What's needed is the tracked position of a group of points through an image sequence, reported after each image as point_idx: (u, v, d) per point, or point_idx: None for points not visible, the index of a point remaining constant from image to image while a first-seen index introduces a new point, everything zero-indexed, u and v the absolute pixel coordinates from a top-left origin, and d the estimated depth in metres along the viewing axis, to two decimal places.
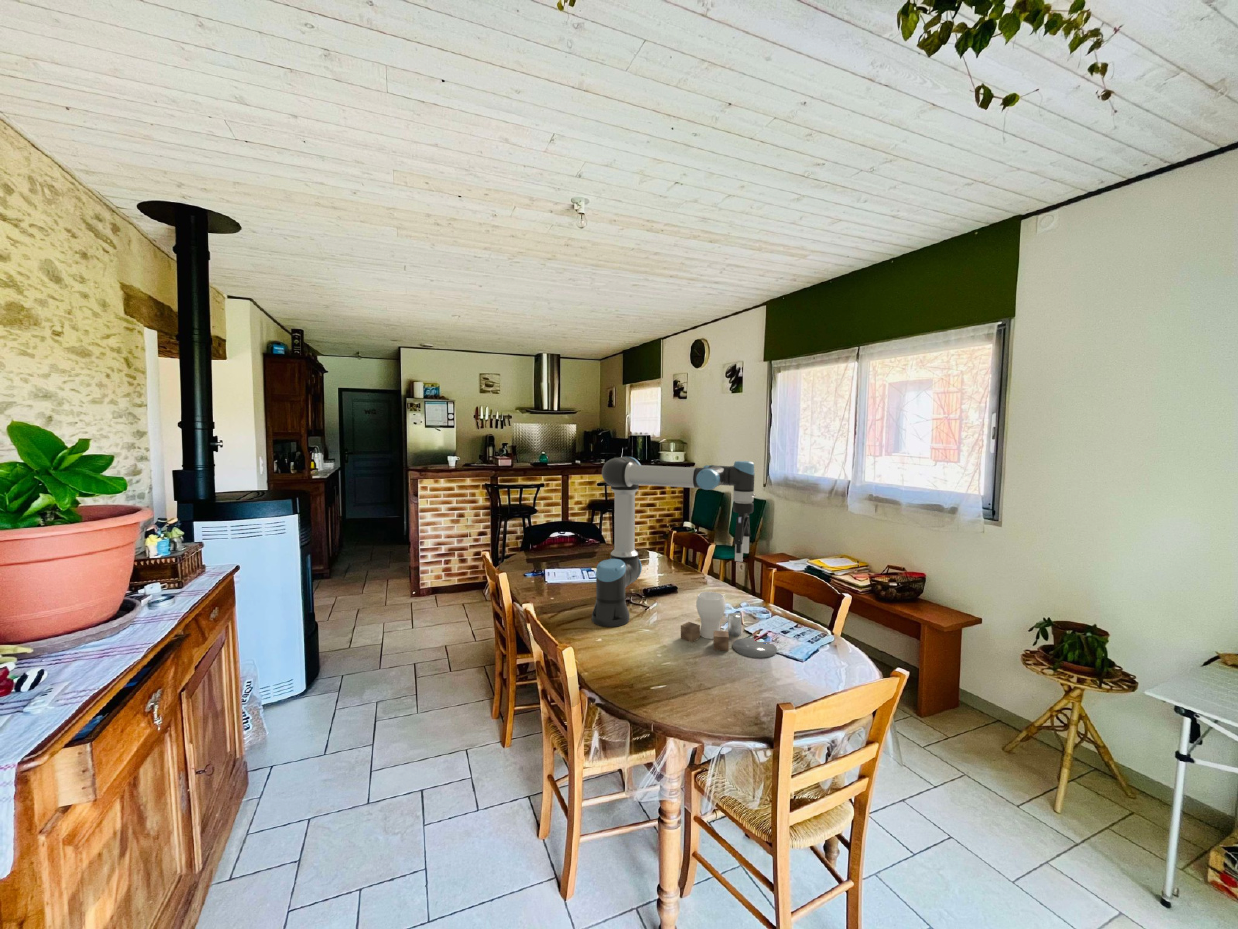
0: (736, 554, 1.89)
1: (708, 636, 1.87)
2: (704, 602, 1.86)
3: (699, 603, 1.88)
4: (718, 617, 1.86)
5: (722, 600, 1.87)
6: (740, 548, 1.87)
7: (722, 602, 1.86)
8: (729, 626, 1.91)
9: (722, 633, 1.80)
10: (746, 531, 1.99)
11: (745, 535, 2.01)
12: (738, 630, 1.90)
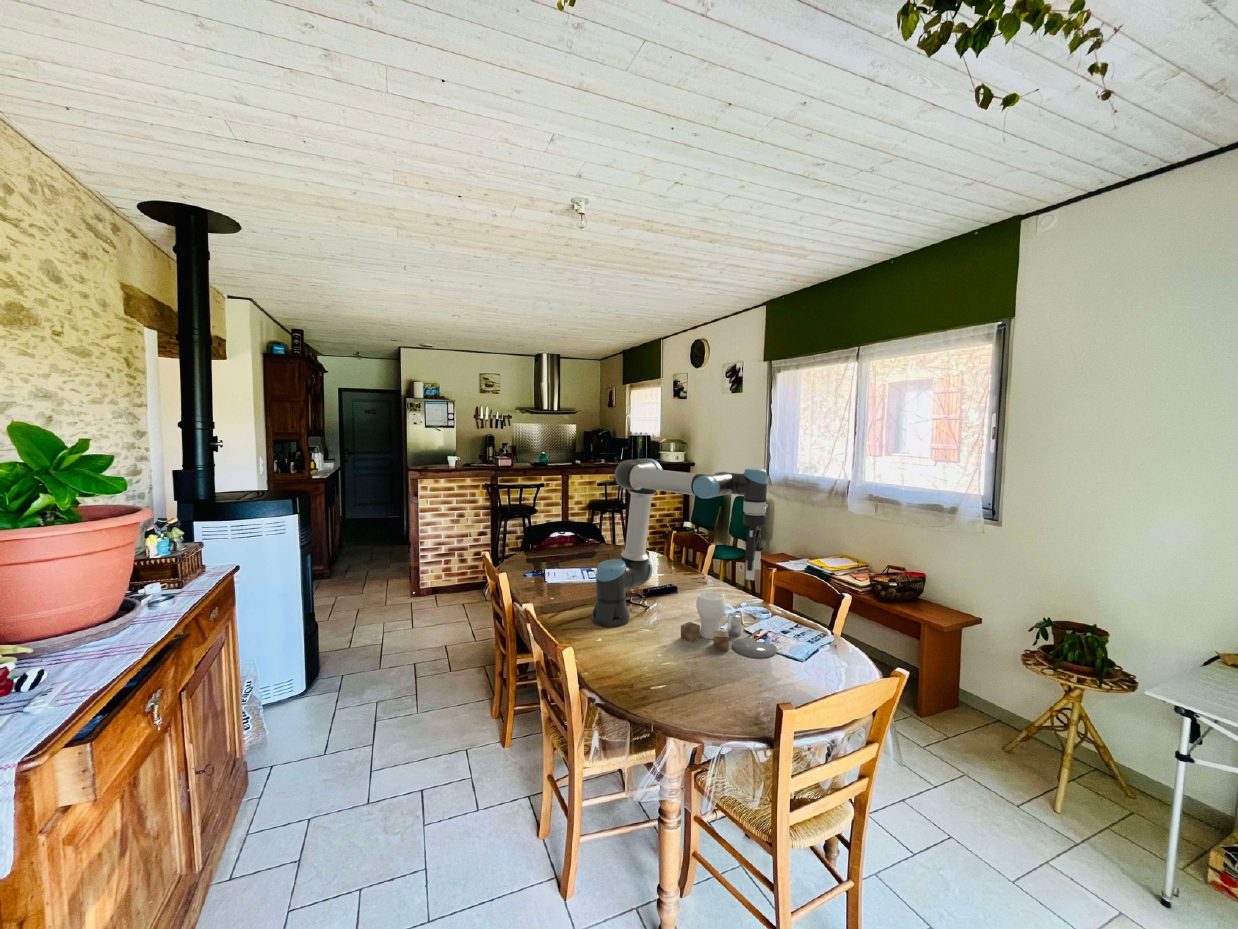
0: (747, 572, 1.71)
1: (708, 636, 1.87)
2: (704, 602, 1.86)
3: (699, 603, 1.88)
4: (718, 617, 1.86)
5: (722, 600, 1.87)
6: (751, 565, 1.69)
7: (722, 602, 1.86)
8: (729, 626, 1.91)
9: (722, 633, 1.80)
10: (757, 545, 1.81)
11: (756, 549, 1.83)
12: (738, 630, 1.90)
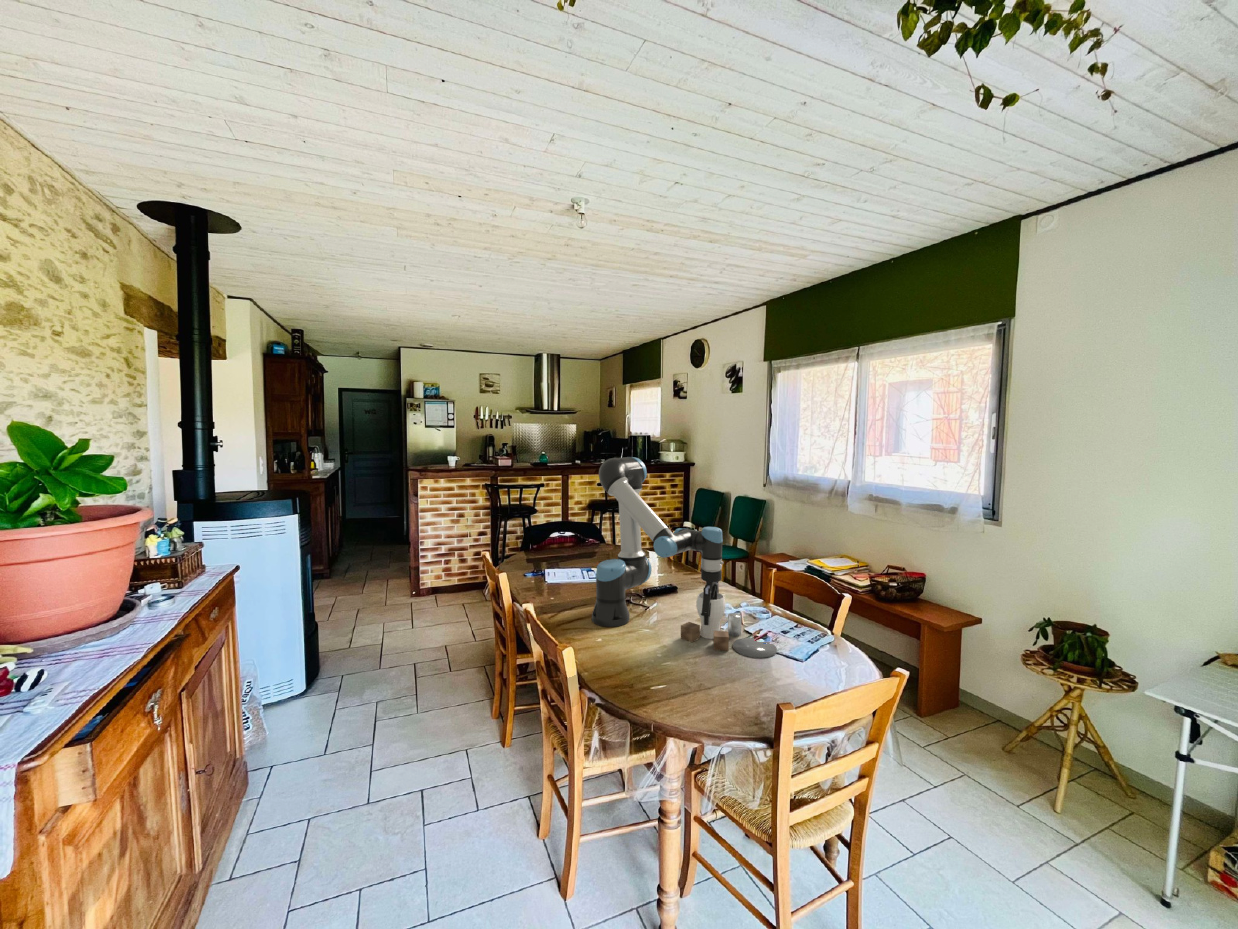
0: (704, 626, 1.85)
1: (708, 636, 1.87)
2: None
3: (699, 603, 1.88)
4: (718, 617, 1.86)
5: (722, 600, 1.87)
6: (708, 620, 1.84)
7: (722, 602, 1.86)
8: (729, 626, 1.91)
9: (722, 633, 1.80)
10: (715, 599, 1.94)
11: None
12: (738, 630, 1.90)
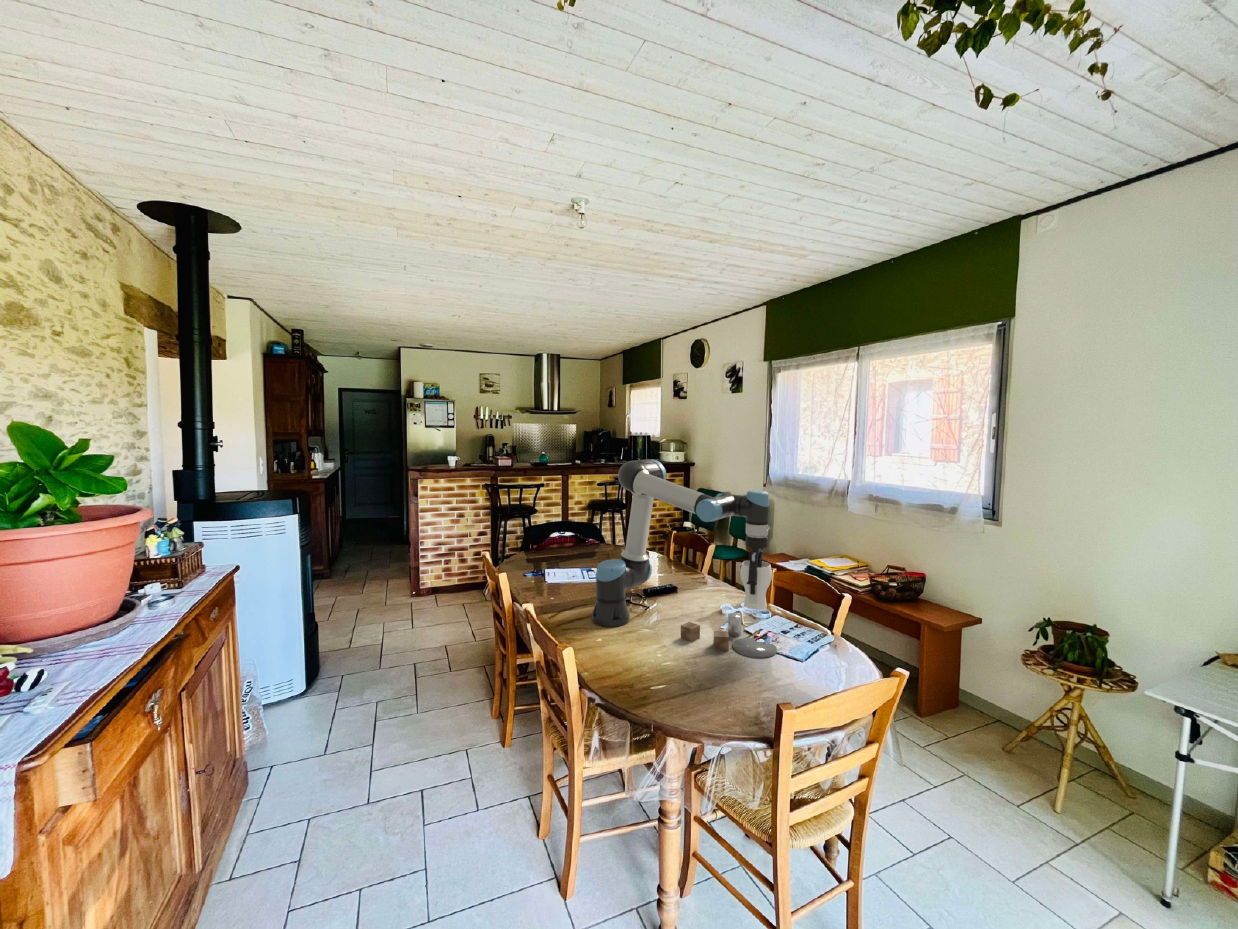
0: (750, 595, 1.73)
1: (754, 607, 1.75)
2: None
3: (744, 571, 1.75)
4: (765, 586, 1.74)
5: (769, 568, 1.74)
6: (754, 589, 1.71)
7: (769, 570, 1.74)
8: (729, 626, 1.91)
9: (722, 633, 1.80)
10: None
11: None
12: (738, 630, 1.90)
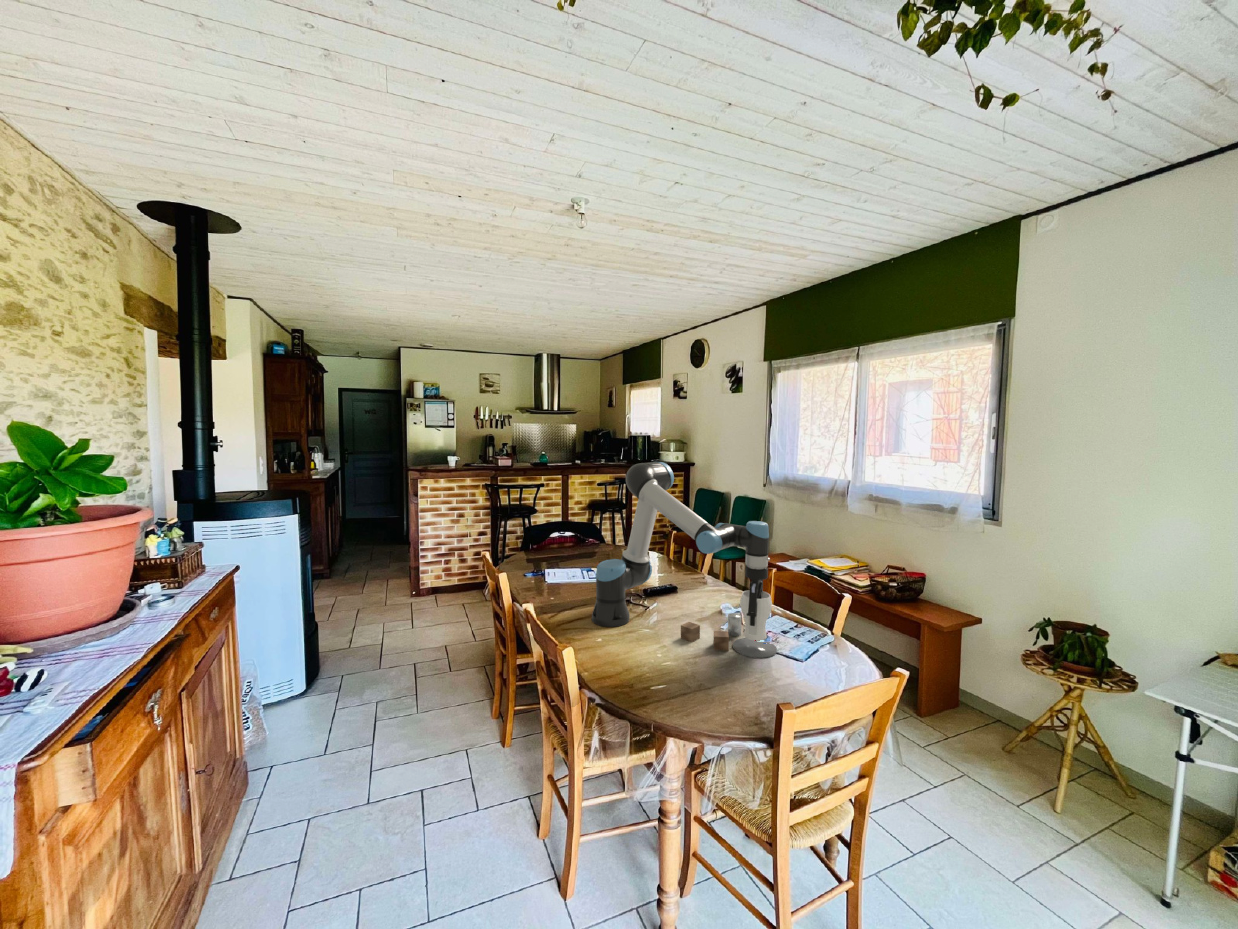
0: (750, 626, 1.74)
1: (754, 637, 1.75)
2: None
3: (744, 602, 1.76)
4: (765, 617, 1.74)
5: (769, 599, 1.75)
6: (754, 620, 1.72)
7: (769, 601, 1.75)
8: (729, 626, 1.91)
9: (722, 633, 1.80)
10: (759, 598, 1.82)
11: None
12: (738, 630, 1.90)
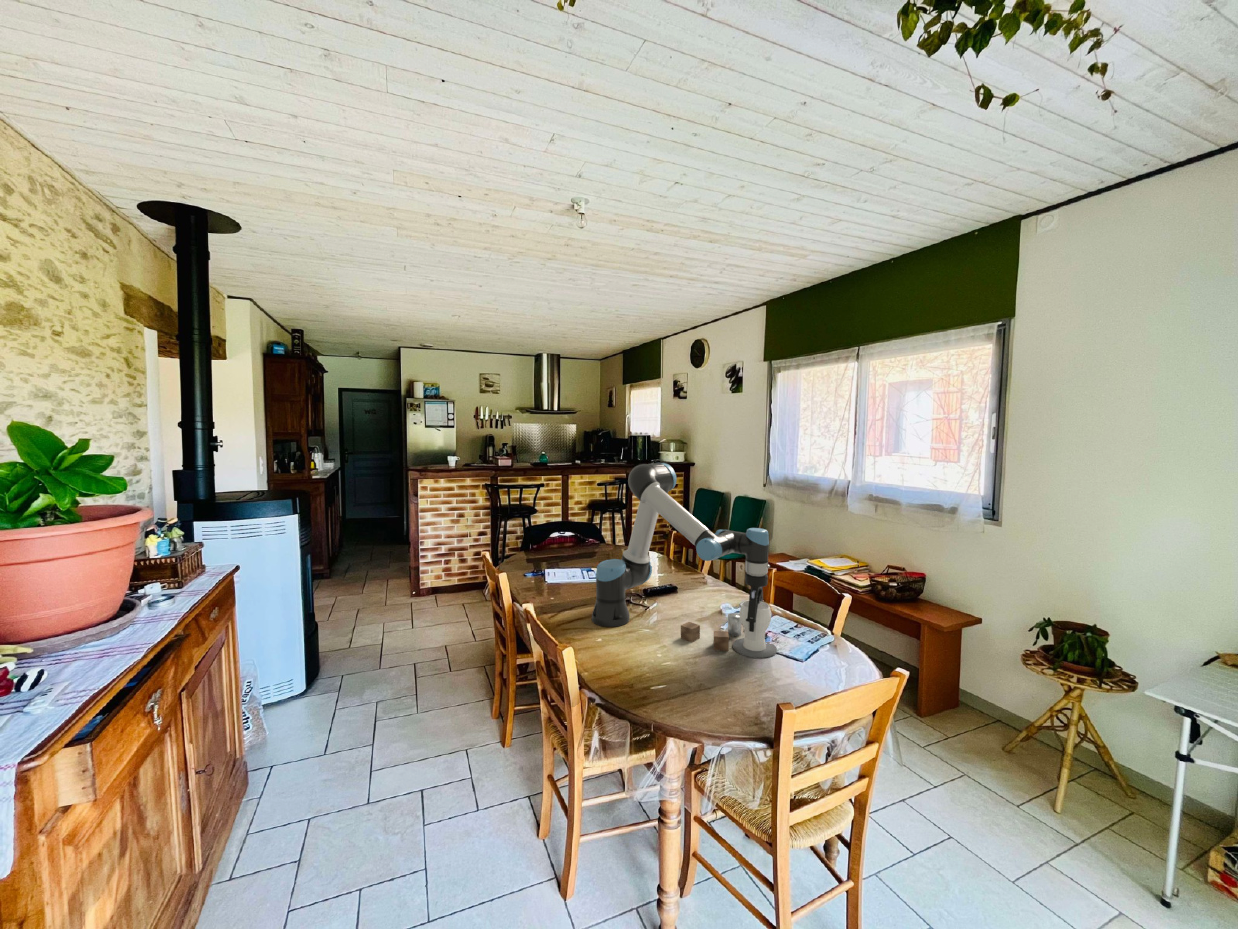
0: (749, 632, 1.73)
1: (753, 648, 1.76)
2: None
3: (743, 613, 1.76)
4: (764, 628, 1.75)
5: (768, 610, 1.75)
6: (753, 626, 1.71)
7: (768, 612, 1.75)
8: (729, 626, 1.91)
9: (722, 633, 1.80)
10: None
11: None
12: (738, 630, 1.90)
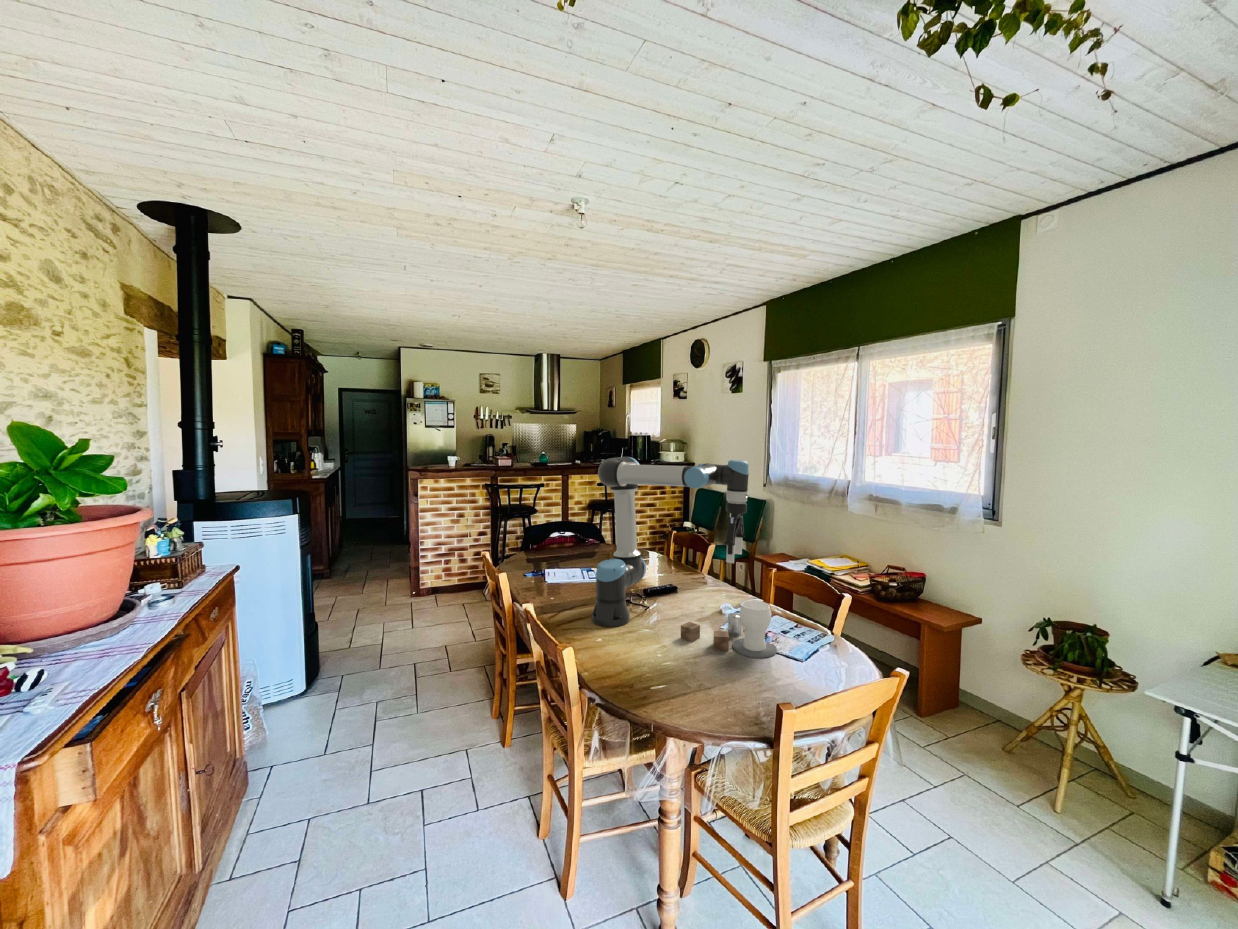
0: (727, 555, 1.84)
1: (753, 648, 1.76)
2: (749, 612, 1.75)
3: (743, 613, 1.76)
4: (764, 628, 1.75)
5: (768, 610, 1.75)
6: (731, 549, 1.83)
7: (768, 612, 1.75)
8: (729, 626, 1.91)
9: (722, 633, 1.80)
10: (739, 532, 1.95)
11: (738, 536, 1.97)
12: (738, 630, 1.90)
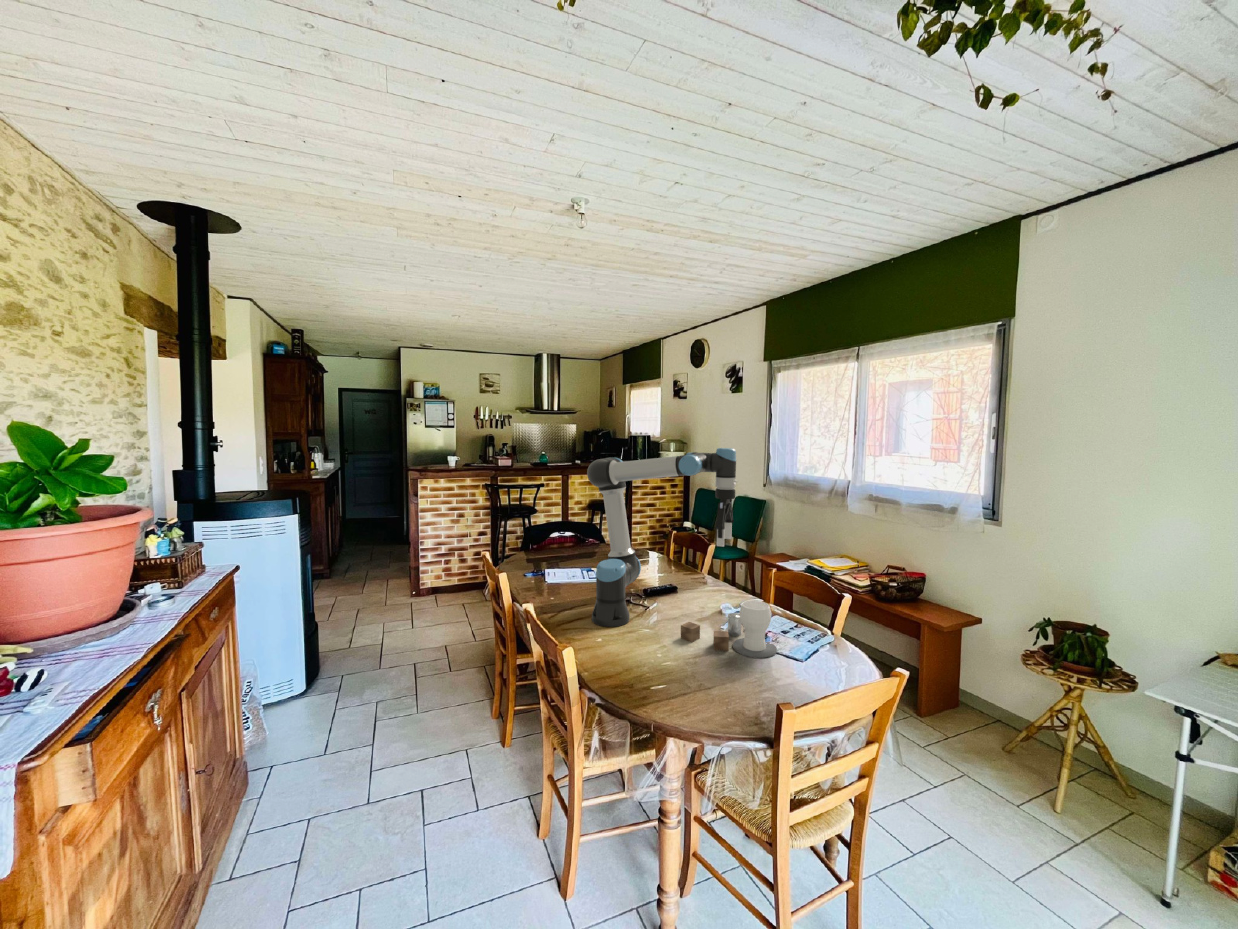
0: (718, 539, 1.92)
1: (753, 648, 1.76)
2: (749, 612, 1.75)
3: (743, 613, 1.76)
4: (764, 628, 1.75)
5: (768, 610, 1.75)
6: (722, 533, 1.91)
7: (768, 612, 1.75)
8: (729, 626, 1.91)
9: (722, 633, 1.80)
10: (729, 517, 2.03)
11: (728, 521, 2.04)
12: (738, 630, 1.90)
